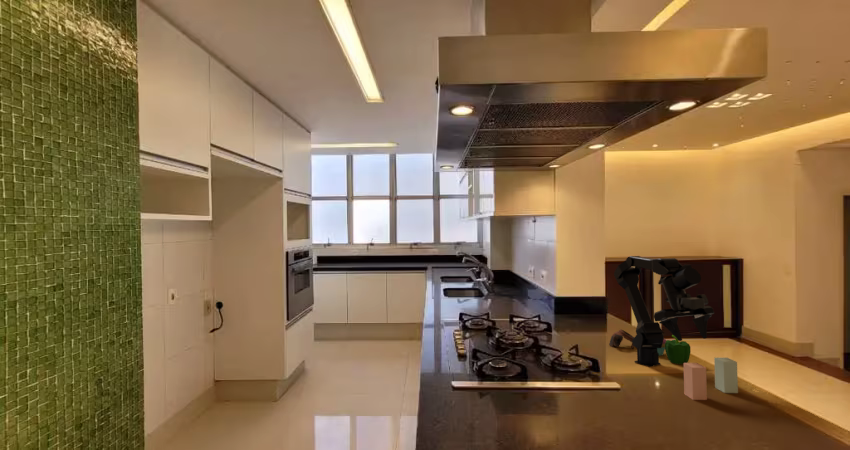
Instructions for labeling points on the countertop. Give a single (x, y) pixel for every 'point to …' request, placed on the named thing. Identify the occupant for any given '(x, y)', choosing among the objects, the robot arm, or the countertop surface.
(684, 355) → the bell pepper
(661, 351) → the cupcake
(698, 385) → the terracotta block
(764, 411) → the countertop surface
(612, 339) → the headphones
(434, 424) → the countertop surface
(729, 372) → the sage block
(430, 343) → the countertop surface
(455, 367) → the countertop surface
